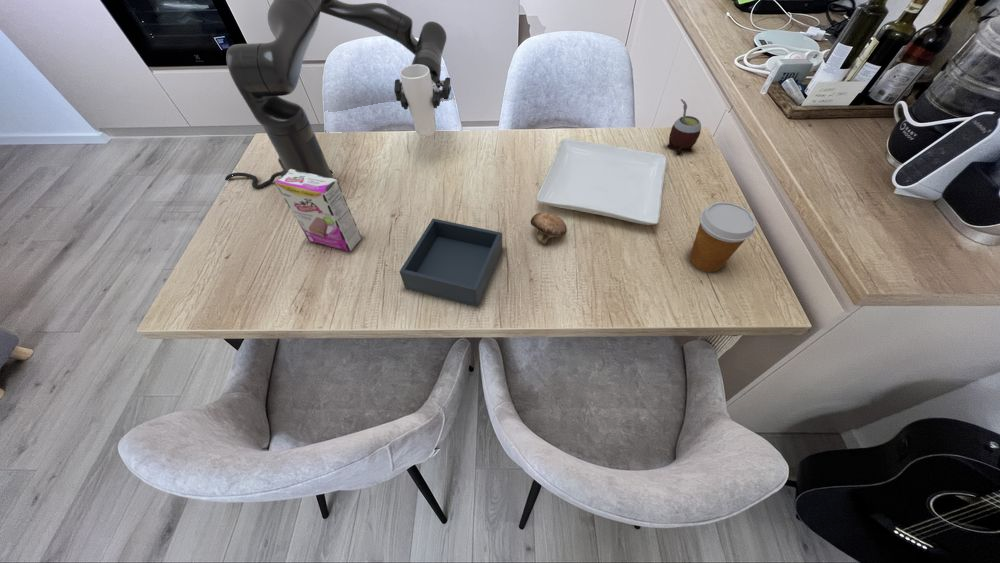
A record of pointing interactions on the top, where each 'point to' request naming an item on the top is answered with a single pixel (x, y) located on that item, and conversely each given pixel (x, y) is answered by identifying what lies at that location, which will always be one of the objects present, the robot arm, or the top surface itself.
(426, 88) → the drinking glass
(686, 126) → the mate gourd
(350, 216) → the candy bar box
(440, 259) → the tub
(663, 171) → the square plate
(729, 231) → the disposable coffee cup
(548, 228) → the mushroom
